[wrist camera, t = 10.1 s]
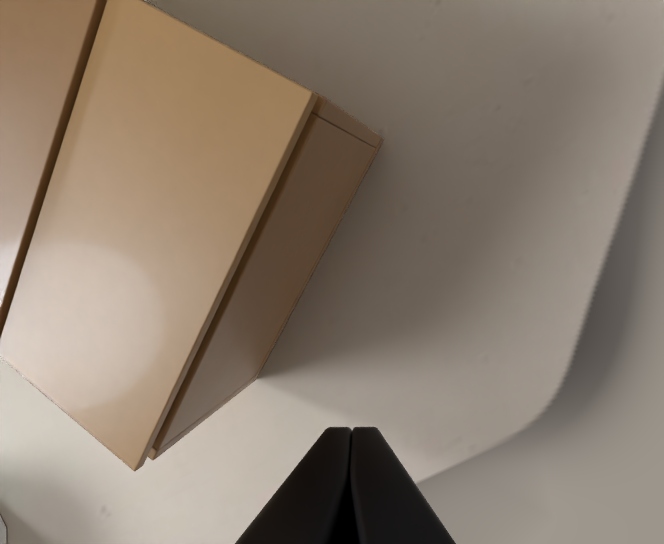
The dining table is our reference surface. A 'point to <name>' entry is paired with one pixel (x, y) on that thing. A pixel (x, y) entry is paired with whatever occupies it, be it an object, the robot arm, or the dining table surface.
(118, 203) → the flap
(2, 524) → the mug
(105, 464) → the dining table surface
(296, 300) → the carton
